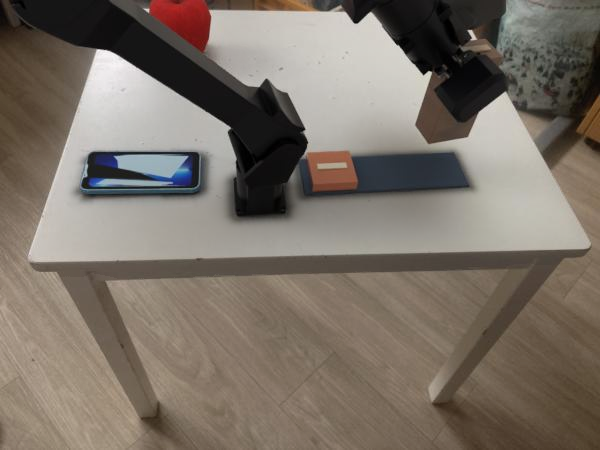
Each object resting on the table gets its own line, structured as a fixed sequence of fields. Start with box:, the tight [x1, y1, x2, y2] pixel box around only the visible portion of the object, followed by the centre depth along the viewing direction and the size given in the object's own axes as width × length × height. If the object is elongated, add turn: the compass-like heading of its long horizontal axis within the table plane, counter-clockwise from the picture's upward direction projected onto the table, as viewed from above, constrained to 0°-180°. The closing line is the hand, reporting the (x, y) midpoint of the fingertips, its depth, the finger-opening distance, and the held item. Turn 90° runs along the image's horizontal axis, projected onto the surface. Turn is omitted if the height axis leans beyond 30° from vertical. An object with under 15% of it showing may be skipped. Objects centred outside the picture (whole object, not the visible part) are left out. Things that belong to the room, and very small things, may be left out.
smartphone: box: [79, 150, 203, 195], centre depth 64 cm, size 7×1×15 cm
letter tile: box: [305, 150, 358, 192], centre depth 66 cm, size 6×6×2 cm
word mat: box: [298, 151, 470, 197], centre depth 68 cm, size 23×7×1 cm, turn 98°
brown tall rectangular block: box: [414, 38, 504, 145], centre depth 60 cm, size 6×4×12 cm, turn 108°
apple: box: [148, 0, 212, 54], centre depth 78 cm, size 10×10×11 cm
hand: (466, 88), depth 60 cm, fingers closed on brown tall rectangular block, 4 cm apart
